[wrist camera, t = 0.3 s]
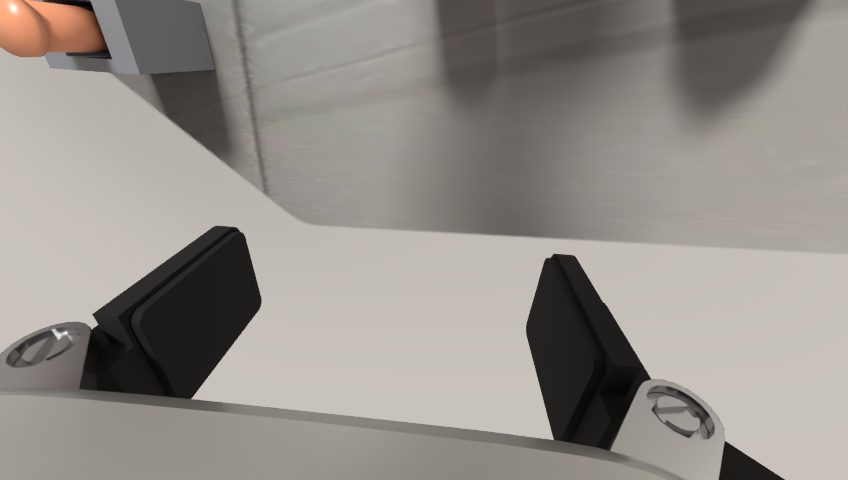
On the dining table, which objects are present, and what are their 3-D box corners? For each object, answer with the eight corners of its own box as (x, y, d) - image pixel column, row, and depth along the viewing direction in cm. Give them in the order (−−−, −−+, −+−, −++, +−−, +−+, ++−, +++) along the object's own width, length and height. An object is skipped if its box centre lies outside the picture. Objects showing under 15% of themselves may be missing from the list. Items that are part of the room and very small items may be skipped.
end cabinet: (124, -2, 33) (9, -21, 25) (199, 3, 33) (109, -15, 24) (146, 64, 36) (50, 68, 28) (215, 69, 36) (140, 74, 27)
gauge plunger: (69, 2, 27) (-38, -12, 21) (113, 5, 27) (17, -9, 21) (90, 54, 29) (-3, 55, 23) (131, 57, 29) (48, 58, 23)
